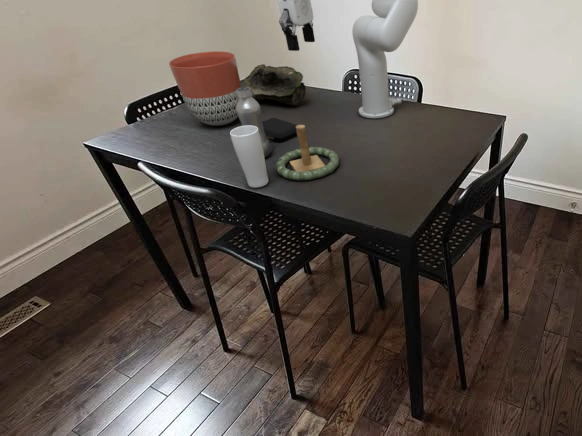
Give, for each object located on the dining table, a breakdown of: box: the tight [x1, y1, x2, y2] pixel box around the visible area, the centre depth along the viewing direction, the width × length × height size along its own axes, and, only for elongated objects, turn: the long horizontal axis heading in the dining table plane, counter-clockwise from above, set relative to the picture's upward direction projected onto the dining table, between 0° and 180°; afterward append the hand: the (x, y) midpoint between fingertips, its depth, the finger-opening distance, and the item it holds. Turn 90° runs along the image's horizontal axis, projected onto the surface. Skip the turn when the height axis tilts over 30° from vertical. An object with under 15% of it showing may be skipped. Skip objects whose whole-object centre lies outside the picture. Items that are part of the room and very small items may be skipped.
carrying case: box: [262, 117, 297, 142], centre depth 135 cm, size 11×3×15 cm
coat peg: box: [289, 124, 326, 172], centre depth 113 cm, size 8×8×12 cm
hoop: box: [275, 146, 340, 182], centre depth 116 cm, size 17×17×2 cm
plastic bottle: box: [236, 86, 272, 158], centre depth 117 cm, size 6×7×20 cm
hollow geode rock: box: [242, 63, 307, 107], centre depth 159 cm, size 28×13×15 cm
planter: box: [168, 50, 242, 127], centre depth 139 cm, size 20×20×21 cm
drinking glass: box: [229, 125, 270, 189], centre depth 106 cm, size 7×7×15 cm
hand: (302, 46), depth 119 cm, fingers open, 9 cm apart
